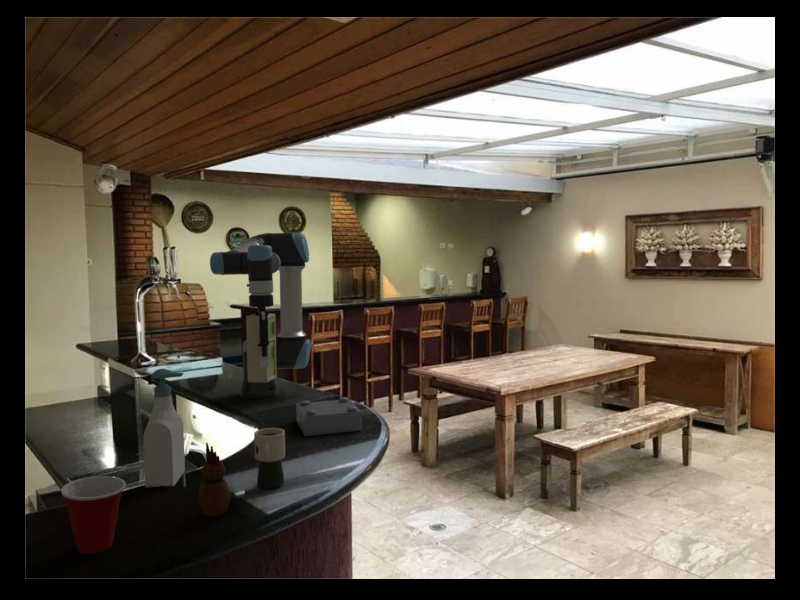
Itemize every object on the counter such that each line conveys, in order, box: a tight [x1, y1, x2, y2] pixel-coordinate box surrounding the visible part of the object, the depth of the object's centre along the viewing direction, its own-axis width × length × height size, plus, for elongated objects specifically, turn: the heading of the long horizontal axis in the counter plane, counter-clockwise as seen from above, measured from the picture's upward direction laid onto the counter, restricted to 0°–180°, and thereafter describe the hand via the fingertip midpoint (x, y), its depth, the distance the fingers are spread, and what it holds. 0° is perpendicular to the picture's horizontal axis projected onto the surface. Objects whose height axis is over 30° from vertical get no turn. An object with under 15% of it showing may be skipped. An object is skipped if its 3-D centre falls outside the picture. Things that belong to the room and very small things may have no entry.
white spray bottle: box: [142, 368, 186, 488], centre depth 145 cm, size 11×8×27 cm
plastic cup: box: [60, 475, 127, 555], centre depth 110 cm, size 11×11×12 cm
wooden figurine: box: [198, 442, 231, 518], centre depth 124 cm, size 7×6×15 cm
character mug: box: [253, 427, 286, 489], centre depth 140 cm, size 11×7×13 cm, turn 4°
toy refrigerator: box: [245, 313, 278, 383], centre depth 188 cm, size 8×7×21 cm
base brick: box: [295, 396, 363, 437], centre depth 191 cm, size 18×18×7 cm
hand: (262, 363), depth 188 cm, fingers closed on toy refrigerator, 10 cm apart
